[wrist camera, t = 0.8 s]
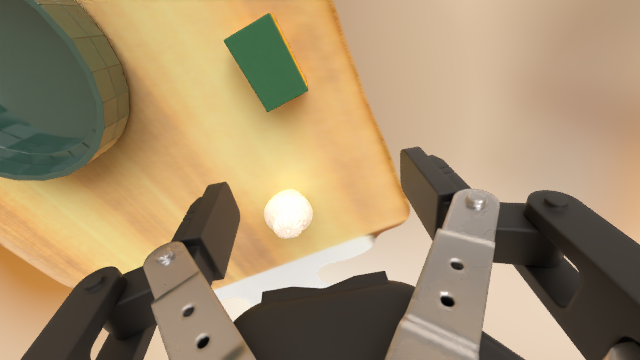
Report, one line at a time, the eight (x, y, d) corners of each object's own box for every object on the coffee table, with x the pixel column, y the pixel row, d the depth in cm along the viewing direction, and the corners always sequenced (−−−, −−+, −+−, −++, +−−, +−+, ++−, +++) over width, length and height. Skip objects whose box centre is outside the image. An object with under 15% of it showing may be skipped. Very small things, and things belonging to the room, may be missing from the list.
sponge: (232, 36, 26) (223, 40, 23) (272, 13, 25) (268, 12, 22) (270, 101, 29) (267, 112, 26) (306, 81, 29) (308, 91, 25)
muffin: (282, 171, 34) (279, 204, 28) (320, 193, 37) (325, 228, 31) (258, 203, 37) (250, 239, 31) (295, 222, 39) (294, 259, 33)
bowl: (-164, 18, 23) (-267, 19, 19) (-15, -116, 20) (-100, -151, 15) (47, 182, 33) (10, 207, 28) (172, 112, 29) (151, 128, 25)
